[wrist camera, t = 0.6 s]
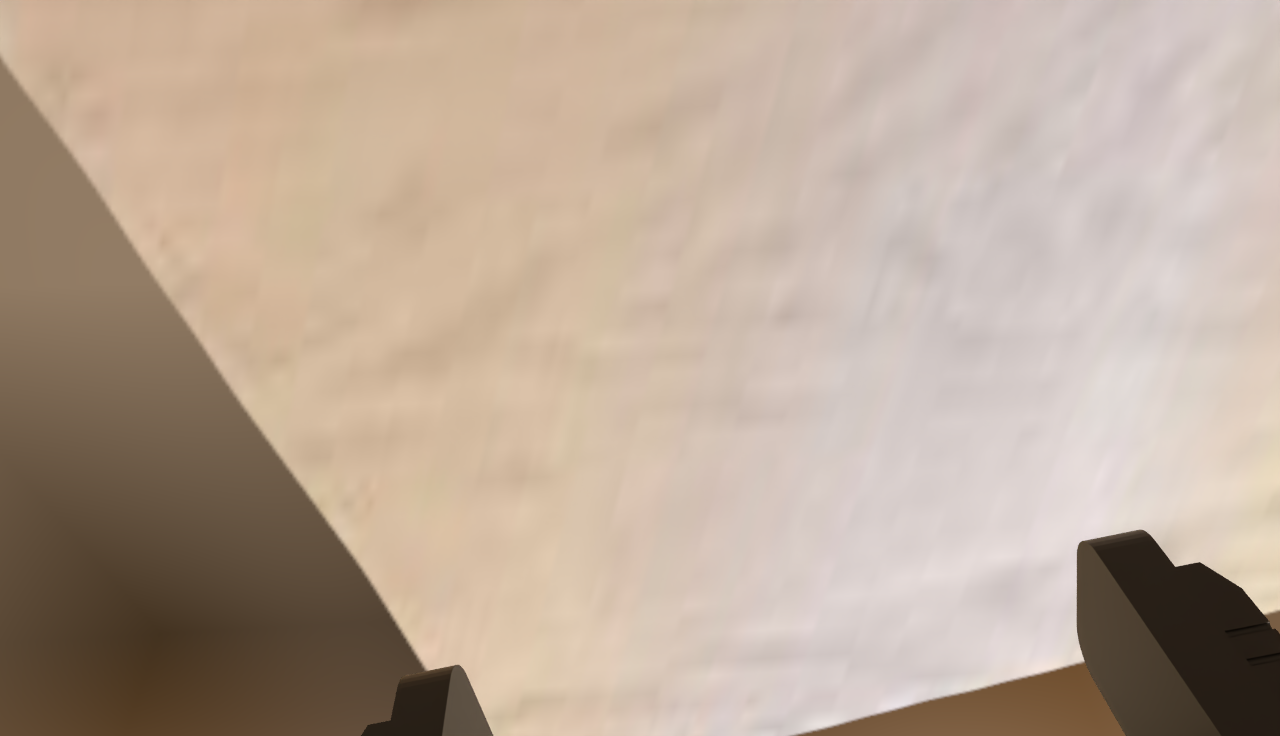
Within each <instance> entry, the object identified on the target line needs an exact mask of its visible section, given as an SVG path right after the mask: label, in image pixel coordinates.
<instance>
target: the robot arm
mask: <svg viewBox="0 0 1280 736" xmlns="http://www.w3.org/2000/svg"><path fill="white" fill-rule="evenodd" d="M1077 633H1078V639H1079V644H1080V648H1081V651H1082V654H1083V657H1084V660H1085V663H1086V665H1087V668H1088V670H1089V672H1090V674H1091V676H1092V678H1093V680H1094V681H1095V683H1096V685H1097V687H1098V688H1099V690H1100V692H1101V693H1102V695H1103V697H1104V699H1105V700H1106V702H1107V704H1108V706H1109V707H1110V709H1111V711H1112V713H1113V714H1114V716H1115V718H1116V720H1117V721H1118V723H1119V725H1120V726H1121V728H1122V730H1123V732H1124V733H1125V735H1126V736H1280V634H1279V633H1278V631H1277V630H1276V629H1272V628H1271V626H1270V622H1269V621H1268V619H1267V618H1266V617H1265V616H1264V615H1263V613H1262V612H1261V611H1260V610H1259V609H1258V607H1257V606H1256V605H1255V604H1254V603H1253V601H1252V600H1251V599H1250V598H1249V597H1248V595H1247V594H1246V593H1245V592H1244V591H1243V589H1242V588H1240V587H1239V586H1237V585H1236V584H1234V583H1232V582H1231V581H1229V580H1228V579H1226V578H1224V577H1223V576H1221V575H1220V574H1218V573H1216V572H1215V571H1213V570H1212V569H1210V568H1208V567H1207V566H1205V565H1203V564H1202V563H1200V562H1199V563H1193V564H1188V565H1183V566H1178V567H1175V566H1174V565H1173V563H1172V562H1171V561H1170V560H1169V558H1168V557H1167V556H1166V554H1165V553H1164V552H1163V551H1162V549H1161V548H1160V547H1159V545H1158V544H1157V543H1156V541H1155V540H1154V539H1153V538H1152V537H1151V535H1149V534H1148V533H1147V532H1146V531H1144V530H1136V531H1131V532H1126V533H1121V534H1116V535H1111V536H1106V537H1101V538H1096V539H1091V540H1086V541H1082V542H1080V543H1079V545H1078V549H1077ZM361 736H493V734H492V732H491V729H490V727H489V725H488V723H487V720H486V718H485V716H484V713H483V711H482V709H481V707H480V704H479V702H478V700H477V698H476V695H475V693H474V691H473V688H472V686H471V684H470V682H469V679H468V677H467V675H466V673H465V671H464V669H463V668H462V667H461V666H460V665H455V666H450V667H445V668H440V669H435V670H430V671H425V672H420V673H415V674H410V675H405V676H403V677H402V678H401V679H400V682H399V684H398V687H397V692H396V697H395V702H394V707H393V712H392V717H391V721H386V722H381V723H377V724H371V725H368V726H367V727H366V729H365V730H364V732H363V734H362V735H361Z"/></svg>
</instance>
